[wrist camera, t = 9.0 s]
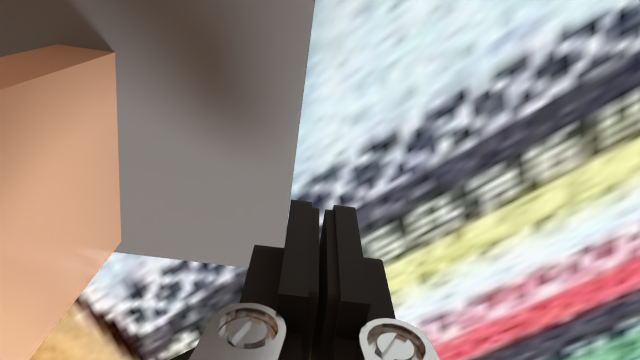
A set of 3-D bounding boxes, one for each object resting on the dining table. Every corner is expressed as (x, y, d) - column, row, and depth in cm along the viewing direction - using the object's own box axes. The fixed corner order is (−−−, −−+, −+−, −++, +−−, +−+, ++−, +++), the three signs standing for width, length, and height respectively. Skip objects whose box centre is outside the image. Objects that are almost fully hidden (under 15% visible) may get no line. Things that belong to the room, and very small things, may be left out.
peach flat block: (115, 52, 15) (-92, 119, 7) (121, 241, 17) (-26, 429, 10) (47, 43, 15) (-231, 102, 7) (64, 234, 17) (-126, 420, 10)
